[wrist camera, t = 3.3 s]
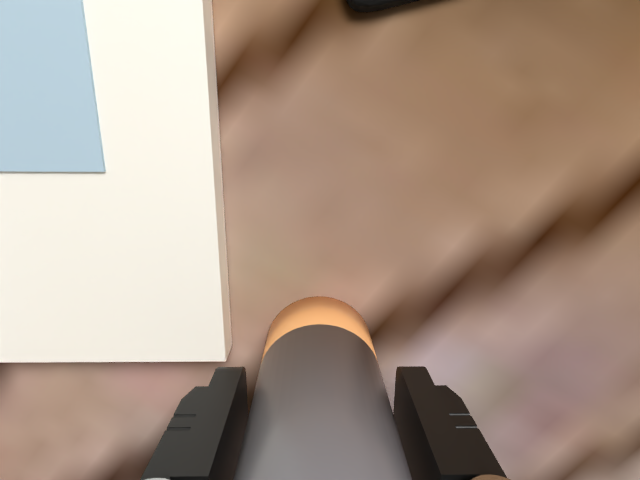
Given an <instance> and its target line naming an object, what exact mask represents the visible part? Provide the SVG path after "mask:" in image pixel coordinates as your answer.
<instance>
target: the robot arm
mask: <svg viewBox="0 0 640 480" xmlns="http://www.w3.org/2000/svg"><path fill="white" fill-rule="evenodd" d="M393 416H394V419H395V423H396V426H397V430H398V433H399V436H400V440H401V443H402V447H403V450H404V454H405V457H406V460H407V464H408V467H409V471H410V474H411V478H412V480H510V479H508V478H507V477H506V475H505V473H504V472H503V470H502V468H501V466H500V465H499V463H498V461H497V460H496V458H495V456H494V454H493V453H492V451H491V449H490V447H489V446H488V444H487V442H486V440H485V439H484V437H483V435H482V434H481V432H480V430H479V429H477V425H476V423H475V421H474V420H473V418H472V416H470V413H469V411H468V409H467V408H466V406H465V404H464V402H463V401H462V399H461V398H460V397H459V396H458V395H457V394H456V393H454V392H453V391H452V390H451V389H450V388H448V387H447V386H446V385H444V386H435V385H434V383H433V381H432V379H431V377H430V375H429V373H428V371H427V369H426V368H425V367H397V370H396V381H395V397H394V414H393ZM247 420H248V405H247V385H246V371H245V368H244V367H218V368H217V369H216V370H215V373H214V375H213V377H212V380H211V382H210V384H209V387H195V388H194V389H193V390H192V391H190V392H189V393H188V394H187V395H186V396H185V397H184V398H183V399H182V400H181V402H180V403H179V405H178V407H177V409H176V411H175V413H174V417H173V418H172V419H171V421H170V423H169V425H168V427H167V431H165V433H164V435H163V436H162V438H161V440H160V442H159V444H158V446H157V448H156V450H155V452H154V454H153V456H152V458H151V460H150V462H149V464H148V466H147V467H146V469H145V471H144V473H143V475H142V477H141V479H140V480H233V479H234V475H235V470H236V466H237V462H238V458H239V454H240V449H241V445H242V441H243V437H244V433H245V428H246V424H247Z"/></svg>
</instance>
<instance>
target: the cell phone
mask: <svg viewBox="0 0 640 480" xmlns="http://www.w3.org/2000/svg"><path fill="white" fill-rule="evenodd" d="M414 1H418V0H347V3H348V5H349V6H350V8H352V9H353V10H355V11H358V12H371V11H378V10H383V9H387V8H391V7H395V6H399V5H403V4H407V3H411V2H414Z"/></svg>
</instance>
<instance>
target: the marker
mask: <svg viewBox="0 0 640 480" xmlns="http://www.w3.org/2000/svg"><path fill="white" fill-rule="evenodd" d="M233 480H412V478H411V474H410V471H409V467H408V464H407V460H406V457H405V454H404V450H403V447H402V443H401V440H400V436H399V433H398V430H397V426H396V423H395V419H394V416H393V412H392V409H391V406H390V402H389V399H388V395H387V392H386V389H385V385H384V382H383V378H382V375H381V371H380V368H379V365H378V361H377V358H376V354H375V351H374V347H373V344H372V341H371V337H370V334H369V331H368V328H367V325H366V323H365V321H364V320H363V318H362V317H361V315H360V314H359V313H358V312H357V311H356V310H355V309H353V308H352V307H351V306H349V305H348V304H346V303H344V302H342V301H340V300H337V299H334V298H329V297H309V298H304V299H301V300H298V301H296V302H294V303H292V304H290V305H289V306H287V307H286V308H285V309H283V310H282V311H281V312H280V313H279V314H278V315H277V317H276V318H275V319H274V321H273V323H272V325H271V327H270V329H269V332H268V336H267V340H266V345H265V349H264V353H263V357H262V361H261V366H260V370H259V374H258V378H257V382H256V387H255V391H254V395H253V399H252V403H251V408H250V412H249V416H248V420H247V424H246V428H245V433H244V437H243V441H242V445H241V449H240V454H239V458H238V462H237V466H236V470H235V475H234V479H233Z"/></svg>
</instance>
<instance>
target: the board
mask: <svg viewBox="0 0 640 480" xmlns="http://www.w3.org/2000/svg"><path fill="white" fill-rule="evenodd" d="M231 347H232V333H231V316H230V299H229V282H228V265H227V248H226V231H225V214H224V197H223V181H222V164H221V147H220V130H219V113H218V96H217V79H216V62H215V45H214V28H213V11H212V0H0V363H1V362H208V361H226V359H227V357H228V354H229V352H230V350H231Z"/></svg>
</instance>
